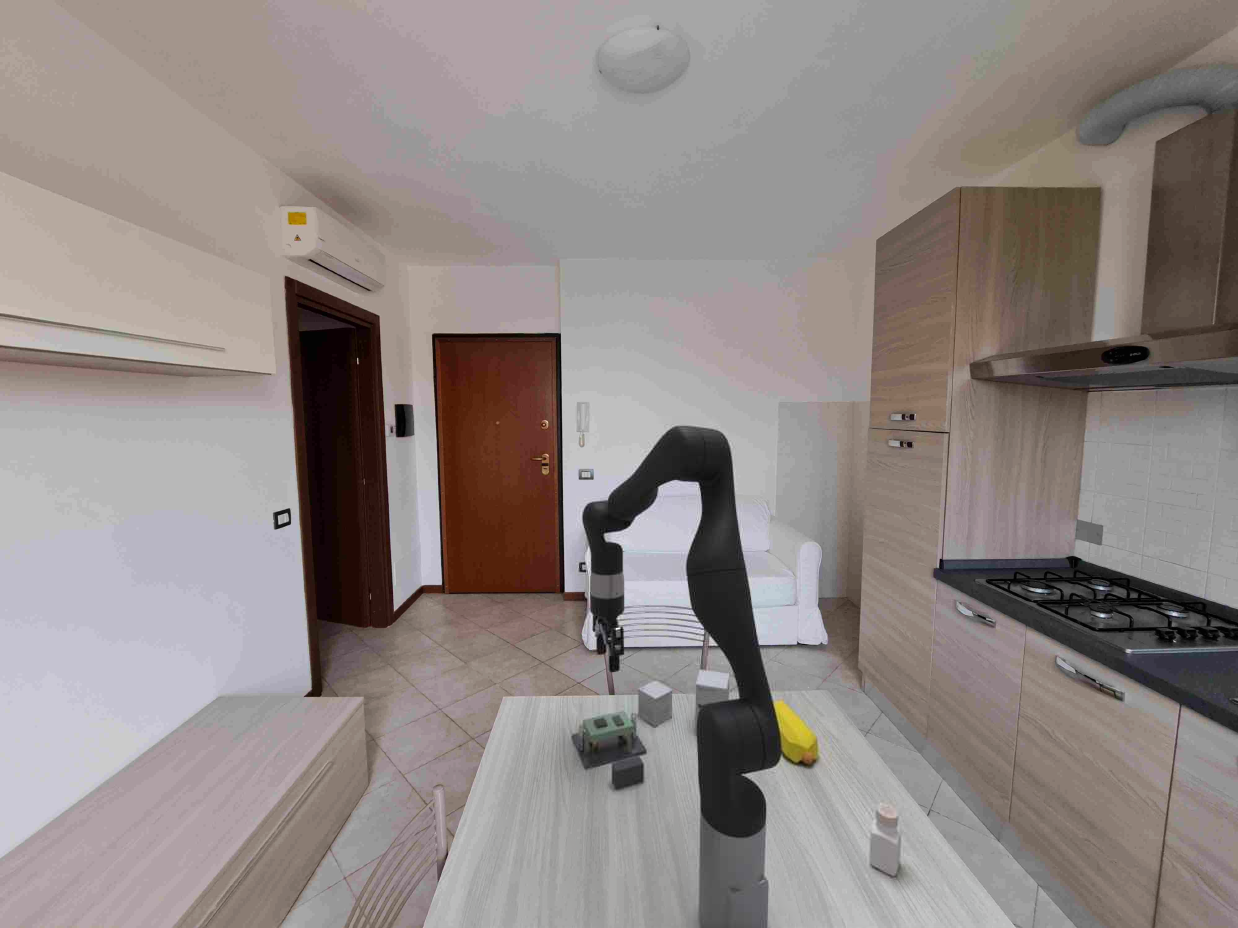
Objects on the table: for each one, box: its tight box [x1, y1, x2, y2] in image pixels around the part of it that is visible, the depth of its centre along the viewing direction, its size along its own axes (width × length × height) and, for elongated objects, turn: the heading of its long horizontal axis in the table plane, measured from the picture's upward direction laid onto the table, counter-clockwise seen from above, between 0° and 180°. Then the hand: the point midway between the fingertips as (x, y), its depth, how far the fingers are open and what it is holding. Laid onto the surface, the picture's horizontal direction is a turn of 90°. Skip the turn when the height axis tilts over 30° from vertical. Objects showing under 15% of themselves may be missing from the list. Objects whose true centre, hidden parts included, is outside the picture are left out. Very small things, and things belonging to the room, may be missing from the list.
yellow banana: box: [773, 700, 819, 765], centre depth 112 cm, size 18×7×8 cm
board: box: [582, 710, 634, 743], centre depth 111 cm, size 10×6×2 cm, turn 111°
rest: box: [611, 755, 645, 791], centre depth 100 cm, size 6×2×4 cm, turn 110°
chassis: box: [571, 713, 647, 770], centre depth 111 cm, size 14×11×6 cm
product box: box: [637, 680, 673, 728], centre depth 121 cm, size 6×6×7 cm
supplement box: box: [694, 669, 731, 736], centre depth 116 cm, size 7×7×13 cm
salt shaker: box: [868, 802, 902, 877], centre depth 81 cm, size 4×4×10 cm
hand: (607, 661), depth 109 cm, fingers open, 8 cm apart
